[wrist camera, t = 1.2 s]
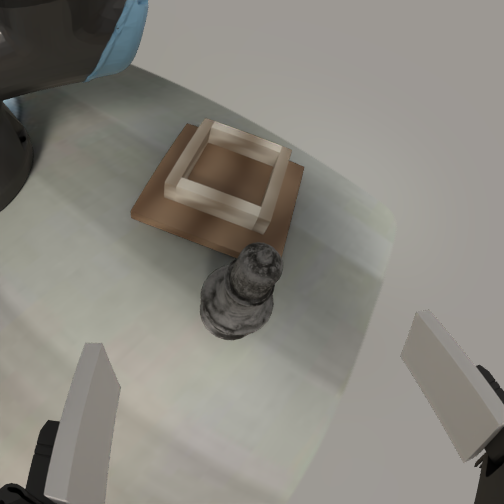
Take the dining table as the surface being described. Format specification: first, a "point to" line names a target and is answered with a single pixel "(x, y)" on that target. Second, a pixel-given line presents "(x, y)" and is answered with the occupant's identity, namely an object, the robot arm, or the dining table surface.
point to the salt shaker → (241, 292)
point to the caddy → (222, 189)
